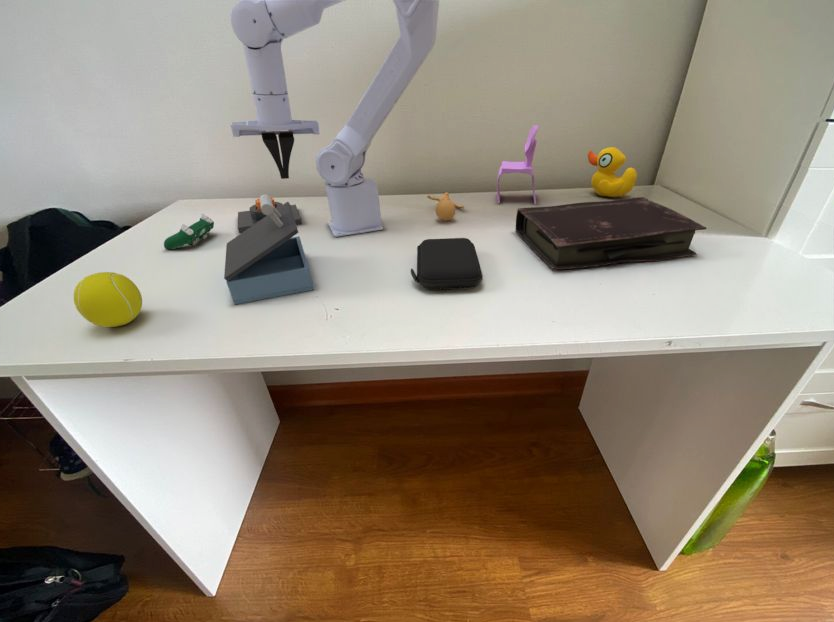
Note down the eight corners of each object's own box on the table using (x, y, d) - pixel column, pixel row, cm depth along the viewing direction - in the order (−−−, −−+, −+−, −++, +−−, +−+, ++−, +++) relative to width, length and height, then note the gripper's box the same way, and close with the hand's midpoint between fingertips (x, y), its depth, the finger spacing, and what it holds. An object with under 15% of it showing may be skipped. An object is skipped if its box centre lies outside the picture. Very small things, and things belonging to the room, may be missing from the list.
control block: (296, 209, 93) (293, 196, 91) (301, 224, 85) (298, 209, 83) (239, 217, 89) (235, 203, 88) (239, 233, 82) (234, 218, 80)
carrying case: (411, 253, 73) (410, 295, 61) (410, 236, 71) (409, 276, 59) (473, 250, 73) (483, 292, 61) (473, 233, 71) (484, 273, 59)
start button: (275, 204, 87) (273, 196, 86) (276, 209, 85) (274, 201, 84) (257, 207, 86) (254, 198, 85) (257, 212, 84) (255, 203, 83)
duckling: (576, 194, 97) (584, 147, 91) (585, 188, 100) (594, 142, 94) (626, 203, 91) (638, 153, 85) (634, 196, 94) (647, 148, 88)
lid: (290, 204, 67) (271, 180, 64) (298, 232, 57) (277, 205, 54) (229, 246, 68) (207, 224, 65) (227, 281, 58) (201, 257, 55)
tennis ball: (86, 342, 53) (54, 293, 49) (97, 315, 58) (69, 269, 54) (148, 328, 55) (123, 281, 51) (153, 304, 60) (131, 259, 56)
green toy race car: (178, 260, 77) (190, 240, 73) (159, 245, 75) (171, 224, 72) (209, 241, 84) (221, 221, 80) (193, 227, 83) (204, 207, 79)
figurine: (427, 200, 80) (433, 171, 88) (419, 226, 85) (425, 196, 92) (468, 213, 81) (470, 183, 89) (458, 238, 86) (461, 207, 94)
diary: (513, 231, 79) (516, 205, 76) (634, 219, 83) (641, 193, 80) (554, 275, 65) (559, 244, 62) (699, 258, 68) (710, 228, 65)
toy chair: (496, 193, 98) (501, 122, 89) (534, 194, 97) (543, 122, 88) (495, 205, 92) (500, 129, 83) (536, 206, 91) (545, 129, 82)
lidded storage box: (303, 256, 73) (299, 236, 71) (313, 290, 63) (308, 268, 61) (235, 267, 70) (228, 246, 68) (234, 304, 60) (226, 282, 58)
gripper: (311, 90, 76) (320, 169, 84) (224, 90, 71) (243, 173, 80) (316, 95, 70) (326, 179, 79) (223, 95, 66) (243, 184, 74)
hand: (284, 177), depth 79 cm, fingers closed
